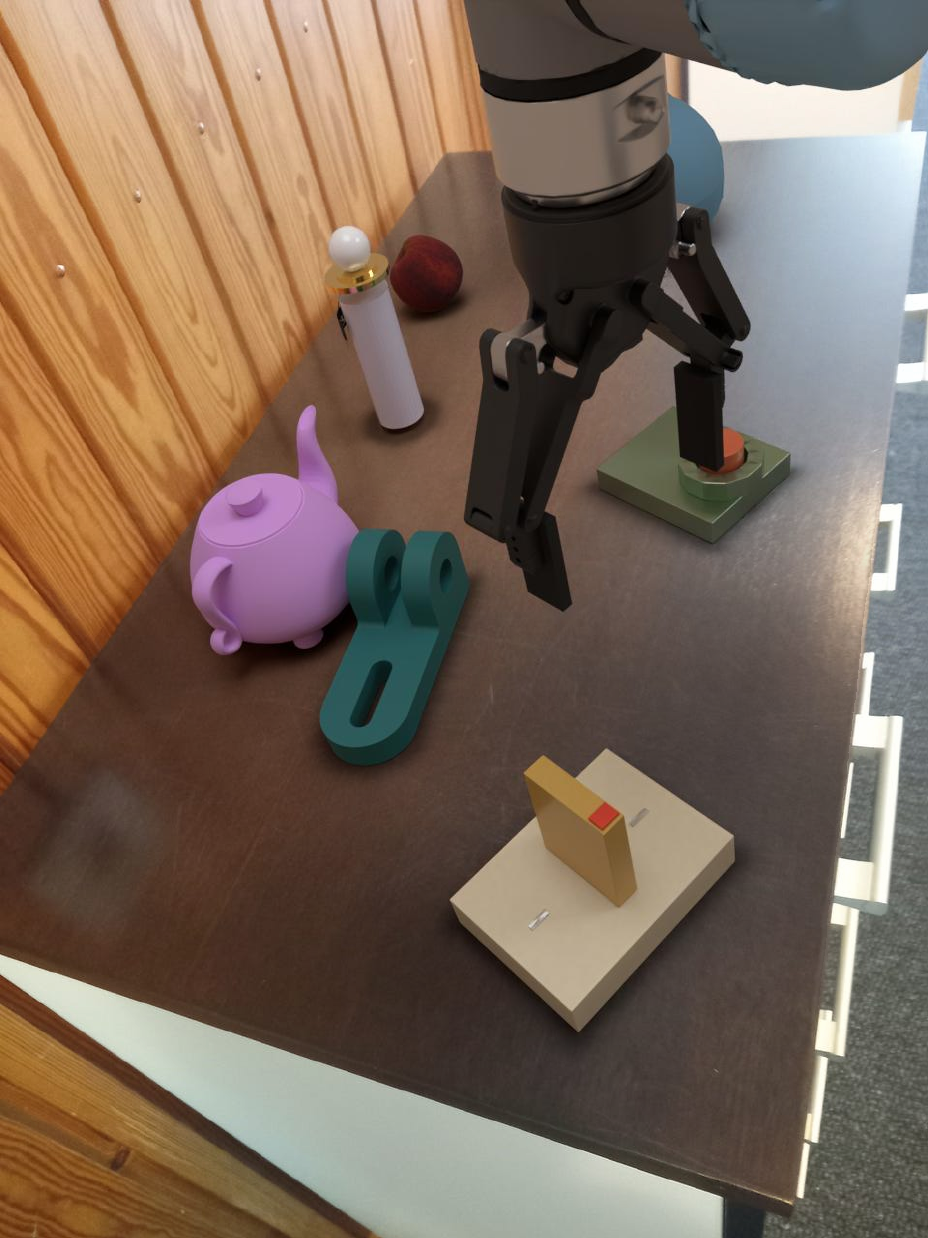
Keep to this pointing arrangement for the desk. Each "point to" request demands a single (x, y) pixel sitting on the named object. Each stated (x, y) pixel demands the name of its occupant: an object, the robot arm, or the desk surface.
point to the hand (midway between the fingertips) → (629, 527)
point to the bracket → (393, 639)
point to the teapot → (273, 554)
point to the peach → (426, 273)
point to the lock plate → (594, 895)
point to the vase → (695, 158)
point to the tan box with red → (582, 830)
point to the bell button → (730, 452)
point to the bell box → (690, 480)
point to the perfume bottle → (373, 326)
